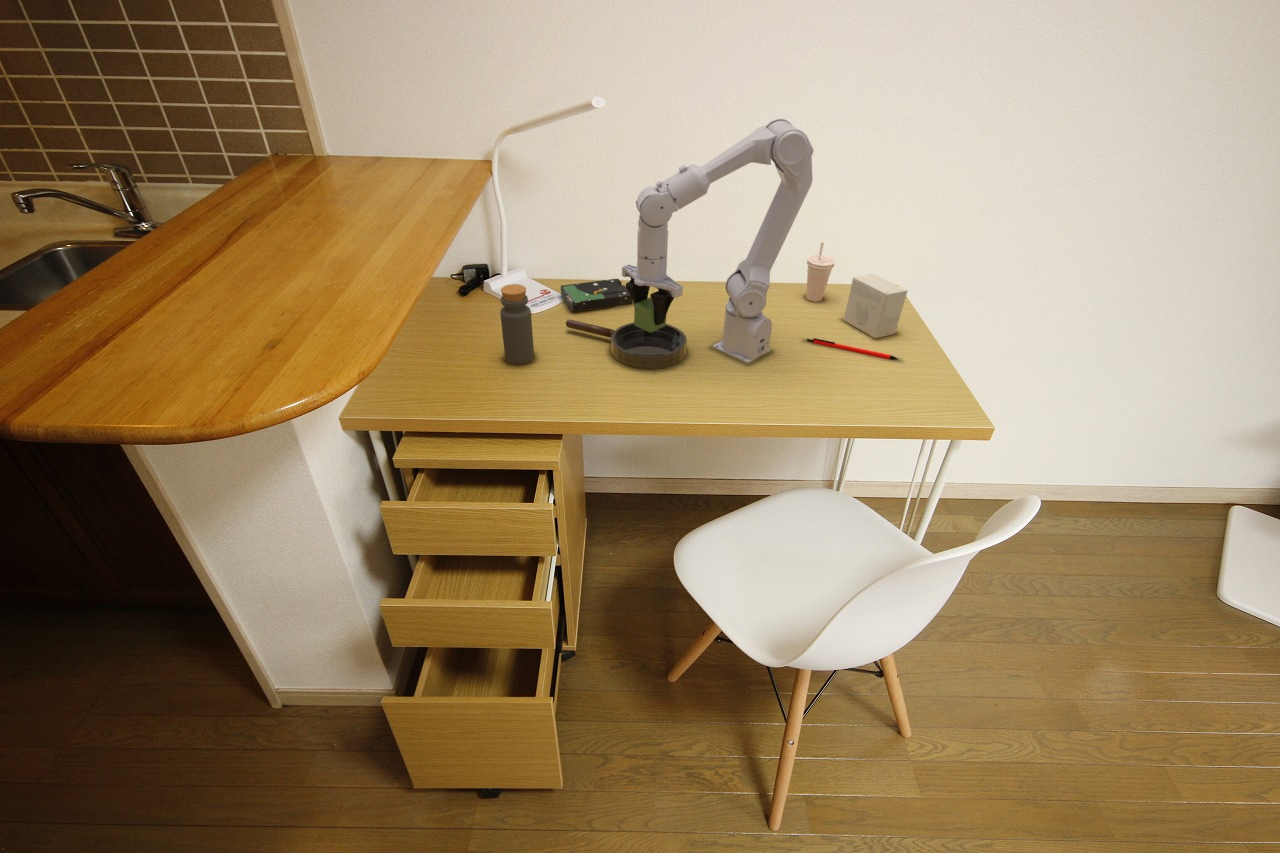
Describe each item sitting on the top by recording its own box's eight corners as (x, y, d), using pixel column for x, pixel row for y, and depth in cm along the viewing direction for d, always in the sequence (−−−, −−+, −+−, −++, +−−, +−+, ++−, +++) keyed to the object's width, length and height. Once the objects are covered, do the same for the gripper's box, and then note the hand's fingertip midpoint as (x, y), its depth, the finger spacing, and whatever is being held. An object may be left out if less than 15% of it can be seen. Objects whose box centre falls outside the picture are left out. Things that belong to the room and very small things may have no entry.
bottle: (538, 353, 135) (533, 284, 126) (527, 367, 130) (521, 297, 122) (512, 349, 136) (505, 281, 127) (500, 362, 131) (492, 292, 123)
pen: (807, 340, 143) (807, 336, 142) (898, 359, 136) (899, 355, 136) (806, 342, 142) (807, 337, 141) (897, 361, 136) (899, 357, 135)
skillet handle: (617, 336, 139) (617, 328, 138) (613, 340, 138) (613, 332, 137) (568, 324, 143) (568, 317, 142) (564, 328, 141) (563, 320, 140)
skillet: (700, 352, 137) (701, 339, 135) (649, 379, 128) (649, 364, 126) (647, 327, 145) (647, 314, 144) (596, 350, 136) (595, 337, 134)
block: (665, 325, 133) (667, 304, 131) (650, 333, 131) (651, 310, 128) (649, 318, 136) (650, 296, 133) (633, 325, 133) (634, 303, 130)
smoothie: (795, 294, 162) (805, 238, 154) (818, 291, 164) (829, 236, 155) (808, 305, 157) (819, 248, 149) (832, 302, 159) (844, 245, 151)
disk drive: (617, 288, 163) (560, 295, 158) (618, 277, 161) (559, 284, 156) (632, 305, 155) (572, 313, 150) (633, 294, 153) (572, 302, 149)
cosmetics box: (896, 333, 146) (909, 289, 140) (875, 339, 143) (887, 294, 137) (863, 314, 153) (873, 272, 147) (842, 320, 151) (851, 276, 145)
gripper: (610, 249, 126) (610, 313, 134) (666, 270, 118) (662, 337, 126) (636, 240, 130) (635, 303, 138) (691, 260, 122) (687, 326, 130)
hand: (650, 319), depth 132 cm, fingers closed on block, 4 cm apart
